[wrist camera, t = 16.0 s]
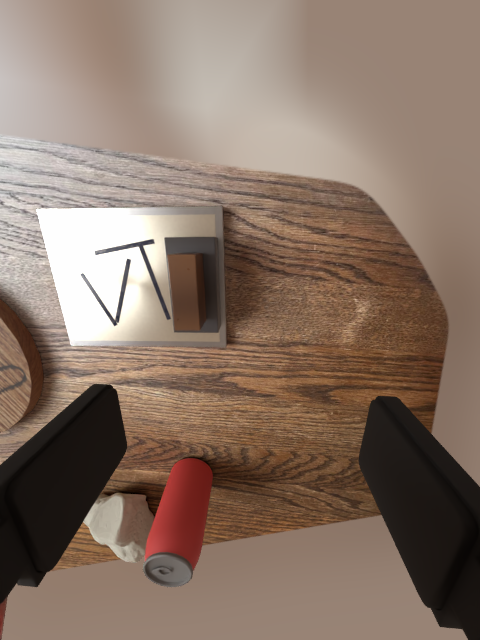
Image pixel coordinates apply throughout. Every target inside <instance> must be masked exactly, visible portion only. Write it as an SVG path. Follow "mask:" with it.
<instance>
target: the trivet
mask: <svg viewBox="0 0 480 640" xmlns="http://www.w3.org/2000/svg"><path fill="white" fill-rule="evenodd" d="M43 379H44V375H43V369H42V362H41V356H40V354H39V352H38V350H37V347H36V345H35V343H34V340H33V338H32V336H31V334H30V332H29V331H28V330H27V328H26V327H25V326H24V324H23V323H22V321H21V320H20V319H19V317H18V316H17V315H16V313H15V312H14V311H13V310H12V309H11V308H10V307H9V306H8V305H7V304H5V303H4V302H3V301H2V300H1V299H0V432H3V431H6V430H8V429H9V428H11V427H12V426H13V425H14V424H16V423H17V422H18V421H20V420H21V419H22V418H23V417H25V416H26V415H27V414H28V413H29V412H31V411H32V410H33V409H34V407H35V405H36V403H37V401H38V400H39V398H40V396H41V392H42V386H43Z"/></svg>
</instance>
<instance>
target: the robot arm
mask: <svg viewBox="0 0 480 640" xmlns="http://www.w3.org/2000/svg"><path fill="white" fill-rule="evenodd" d="M126 449H127V441H126V436H125V431H124V426H123V420H122V415H121V410H120V405H119V400H118V394H117V391H116V389H113V387H112V385H107V384H94V385H92V386H91V387H89V388H88V389H87V390H86V391H85V392H84V393H83V394H81V395H80V396H79V397H78V398H77V399H76V400H75V401H73V402H72V403H71V404H70V405H69V406H68V407H66V408H65V409H64V410H63V411H62V412H61V413H60V414H58V415H57V416H56V417H55V418H54V419H53V420H52V421H50V422H49V423H48V424H47V425H46V426H45V427H43V428H42V429H41V430H40V431H39V432H38V433H37V434H35V435H34V436H33V437H32V438H31V439H30V440H29V441H27V442H26V443H25V444H24V445H23V446H22V447H20V448H19V449H18V450H17V451H16V452H15V453H14V454H12V455H11V456H10V457H9V458H8V459H7V460H6V461H4V462H3V463H2V464H1V465H0V640H1V638H2V631H3V624H4V617H5V610H6V604H7V597H8V595H9V593H10V592H11V590H12V589H13V587H14V586H15V585H16V583H17V584H18V585H23V586H32V587H38V585H39V584H40V582H41V581H42V579H43V577H44V576H45V574H46V573H47V572H49V571H50V570H52V569H53V568H54V567H55V566H56V564H57V563H58V561H59V560H60V558H61V556H62V555H63V553H64V551H65V550H66V548H67V547H68V545H69V543H70V542H71V540H72V539H73V537H74V535H75V534H76V532H77V531H78V529H79V527H80V526H81V524H82V522H83V521H84V519H85V518H86V516H87V514H88V513H89V511H90V510H91V508H92V506H93V505H94V503H95V501H96V500H97V498H98V497H99V495H100V493H101V492H102V490H103V489H104V487H105V485H106V484H107V482H108V480H109V479H110V477H111V476H112V474H113V472H114V471H115V469H116V468H117V466H118V464H119V463H120V461H121V460H122V458H123V456H124V455H125V452H126ZM359 465H360V469H361V471H362V473H363V475H364V478H365V480H366V482H367V484H368V486H369V488H370V491H371V493H372V495H373V497H374V499H375V501H376V503H377V506H378V508H379V510H380V512H381V514H382V516H383V518H384V521H385V523H386V525H387V527H388V529H389V532H390V534H391V536H392V538H393V540H394V542H395V545H396V547H397V549H398V551H399V553H400V555H401V558H402V560H403V562H404V564H405V566H406V568H407V570H408V573H409V575H410V577H411V579H412V581H413V584H414V585H415V588H416V590H417V592H418V594H419V596H420V598H421V600H422V602H423V603H424V604H425V605H426V606H427V607H428V608H431V610H432V612H433V614H434V616H435V618H436V620H437V622H438V624H439V626H440V627H446V628H458V629H463V631H464V632H465V635H466V636H467V638H468V640H480V487H479V486H478V484H477V483H476V482H475V481H474V480H473V479H472V478H471V477H470V476H469V475H468V474H467V473H466V471H464V469H463V468H462V467H461V466H460V465H459V464H458V463H457V462H456V461H455V459H454V458H453V457H452V456H451V455H450V454H449V453H448V452H447V451H446V450H445V448H444V447H442V445H441V444H440V443H439V442H438V441H437V440H436V439H435V438H434V437H433V435H432V434H431V433H430V432H429V431H428V430H427V429H426V428H425V427H424V426H423V424H422V423H421V422H420V421H419V420H418V419H417V418H416V417H415V416H414V415H413V414H412V412H411V411H410V410H409V409H408V408H407V407H406V406H405V405H404V404H403V403H402V402H401V400H400V399H398V398H397V397H391V396H378V397H376V399H375V400H372V401H371V403H370V408H369V413H368V417H367V422H366V426H365V431H364V436H363V440H362V445H361V449H360V454H359Z"/></svg>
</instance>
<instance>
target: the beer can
mask: <svg viewBox="0 0 480 640" xmlns="http://www.w3.org/2000/svg"><path fill="white" fill-rule="evenodd" d="M212 480H213V474H212V470H211V469H210V467H209V465H207V464H206V463H205V462H204V461H202V460H199V459H196V458H185V459H182V460H180V461H178V462H177V463H176V464H175V465H174V466H173V468H172V470H171V473H170V475H169V478H168V481H167V484H166V487H165V490H164V493H163V496H162V498H161V501H160V504H159V507H158V510H157V513H156V516H155V518H154V521H153V524H152V527H151V530H150V533H149V536H148V539H147V544H146V551H145V562H144V564H143V571H144V573H145V576H146V577H147V578H148V579H149V580H151V581H152V582H154V583H156V584H158V585H161V586H167V587H177V586H182V585H184V584H186V583H188V582H189V581H190V579H191V578H192V575H193V570H194V568H195V566H196V564H197V562H198V559H199V556H200V553H201V548H202V542H203V536H204V530H205V523H206V517H207V511H208V505H209V498H210V492H211V486H212Z"/></svg>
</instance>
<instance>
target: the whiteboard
mask: <svg viewBox="0 0 480 640" xmlns="http://www.w3.org/2000/svg"><path fill="white" fill-rule="evenodd" d="M36 210H37V214H38V218H39V222H40V226H41V230H42V234H43V237H44V241H45V245H46V249H47V253H48V257H49V261H50V265H51V269H52V273H53V277H54V281H55V285H56V289H57V292H58V296H59V300H60V304H61V308H62V312H63V316H64V320H65V324H66V328H67V332H68V336H69V340H70V344H71V346H139V347H227V320H226V283H225V247H224V210H223V206H181V207H117V208H52V209H36ZM165 237H217V238H218V251H219V280H220V308H221V327H220V330H219V332H218V333H177V332H174V328H173V318H172V308H171V299H170V289H169V279H168V269H167V260H166V250H165V240H164V238H165Z"/></svg>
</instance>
